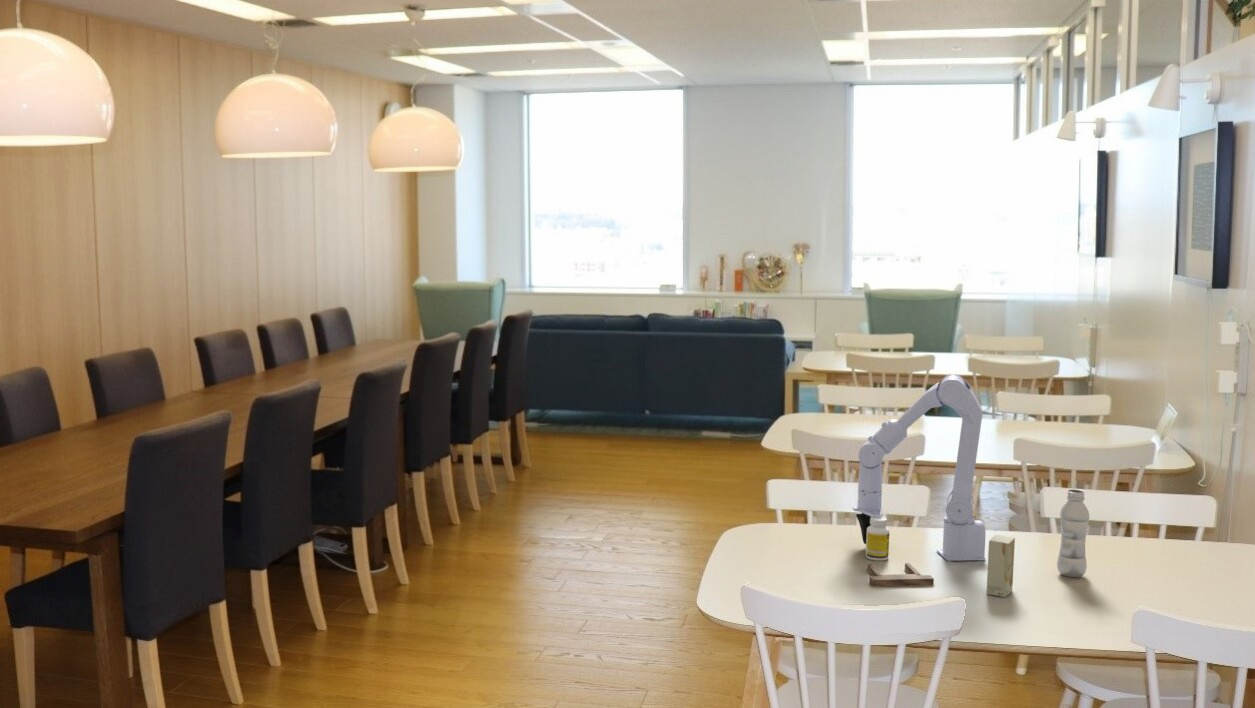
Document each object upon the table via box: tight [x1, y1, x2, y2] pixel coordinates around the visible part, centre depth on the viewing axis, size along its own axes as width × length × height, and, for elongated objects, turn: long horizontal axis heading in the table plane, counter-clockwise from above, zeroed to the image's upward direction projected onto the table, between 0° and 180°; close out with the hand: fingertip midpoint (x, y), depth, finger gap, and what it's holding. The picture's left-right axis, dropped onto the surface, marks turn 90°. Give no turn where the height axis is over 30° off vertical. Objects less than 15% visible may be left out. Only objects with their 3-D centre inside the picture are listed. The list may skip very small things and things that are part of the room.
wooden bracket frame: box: [866, 562, 935, 587], centre depth 268 cm, size 14×11×2 cm
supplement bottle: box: [865, 516, 890, 562], centre depth 282 cm, size 5×5×10 cm
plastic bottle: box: [1056, 489, 1090, 578], centre depth 268 cm, size 6×7×20 cm
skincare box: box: [985, 534, 1016, 598], centre depth 257 cm, size 6×4×12 cm
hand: (868, 543), depth 290 cm, fingers closed
